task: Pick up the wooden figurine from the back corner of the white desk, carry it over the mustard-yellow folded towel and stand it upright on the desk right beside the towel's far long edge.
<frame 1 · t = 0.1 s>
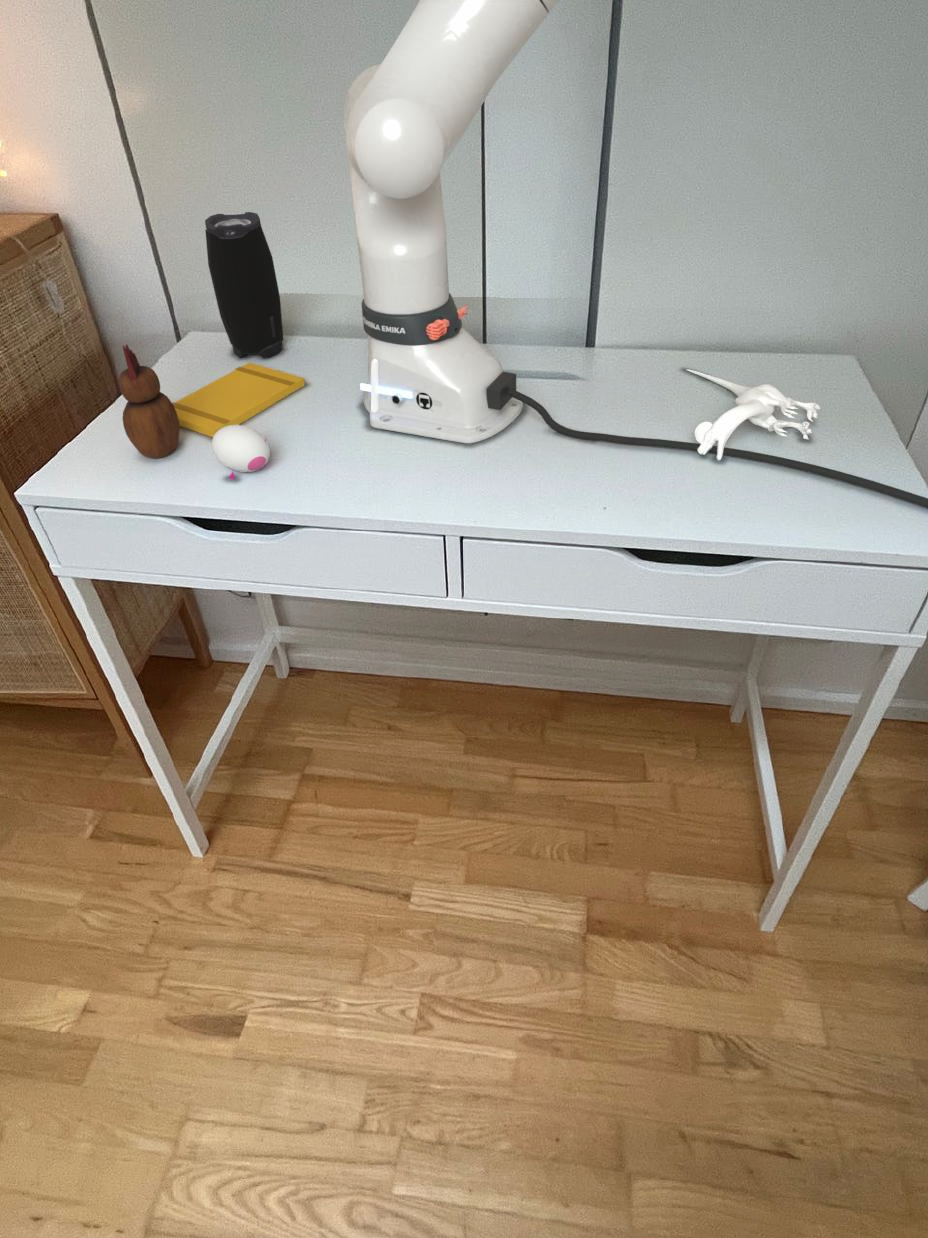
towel: (234, 401, 119), on the table
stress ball: (249, 467, 105), on the table
wooden figurine: (161, 452, 109), on the table
dinosaur: (721, 421, 109), on the table
portable speaker: (259, 350, 132), on the table
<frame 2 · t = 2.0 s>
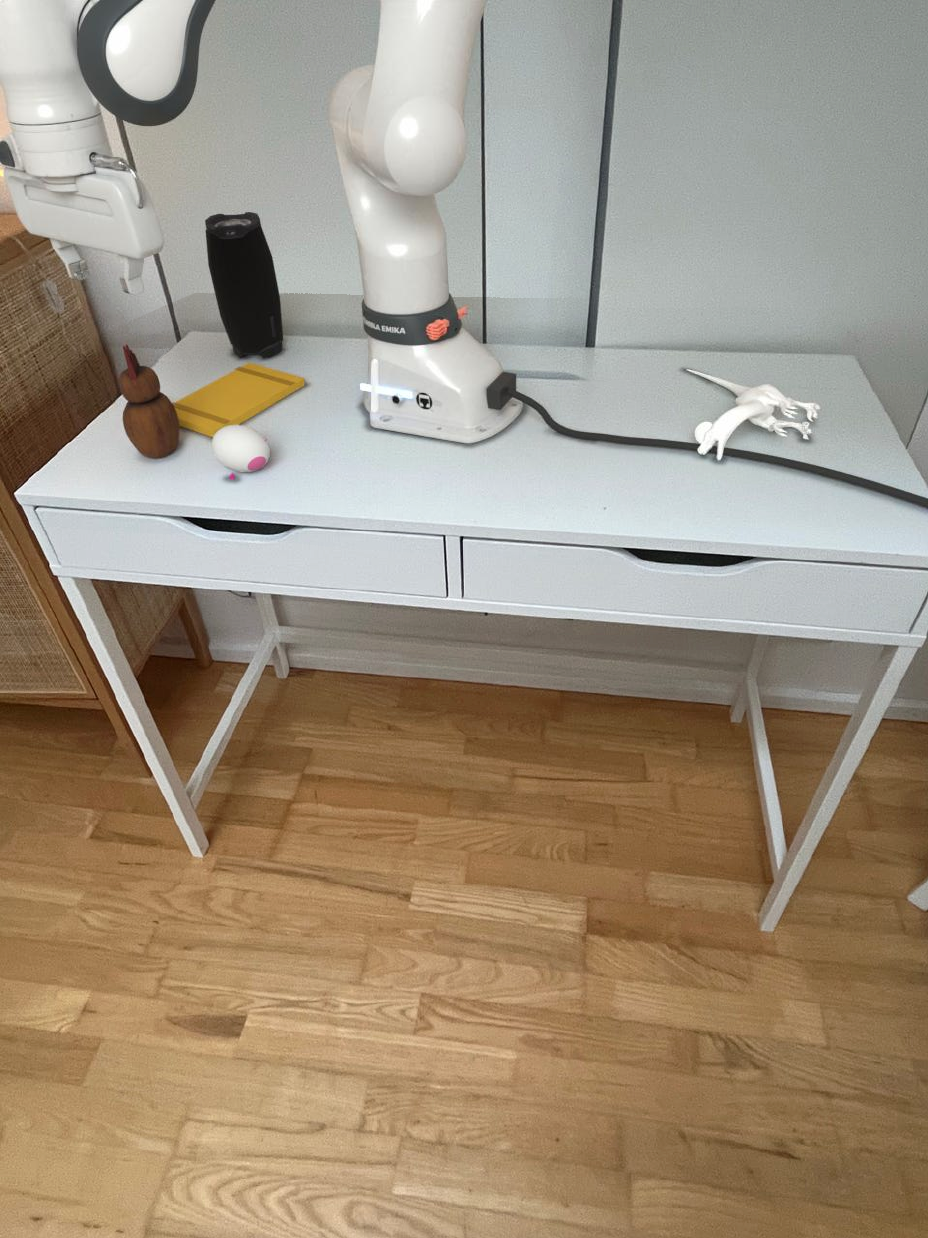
hand: (107, 285, 94), 21 cm above the table, tool pointing down, fingers open, 8 cm apart
nothing on the table moved.
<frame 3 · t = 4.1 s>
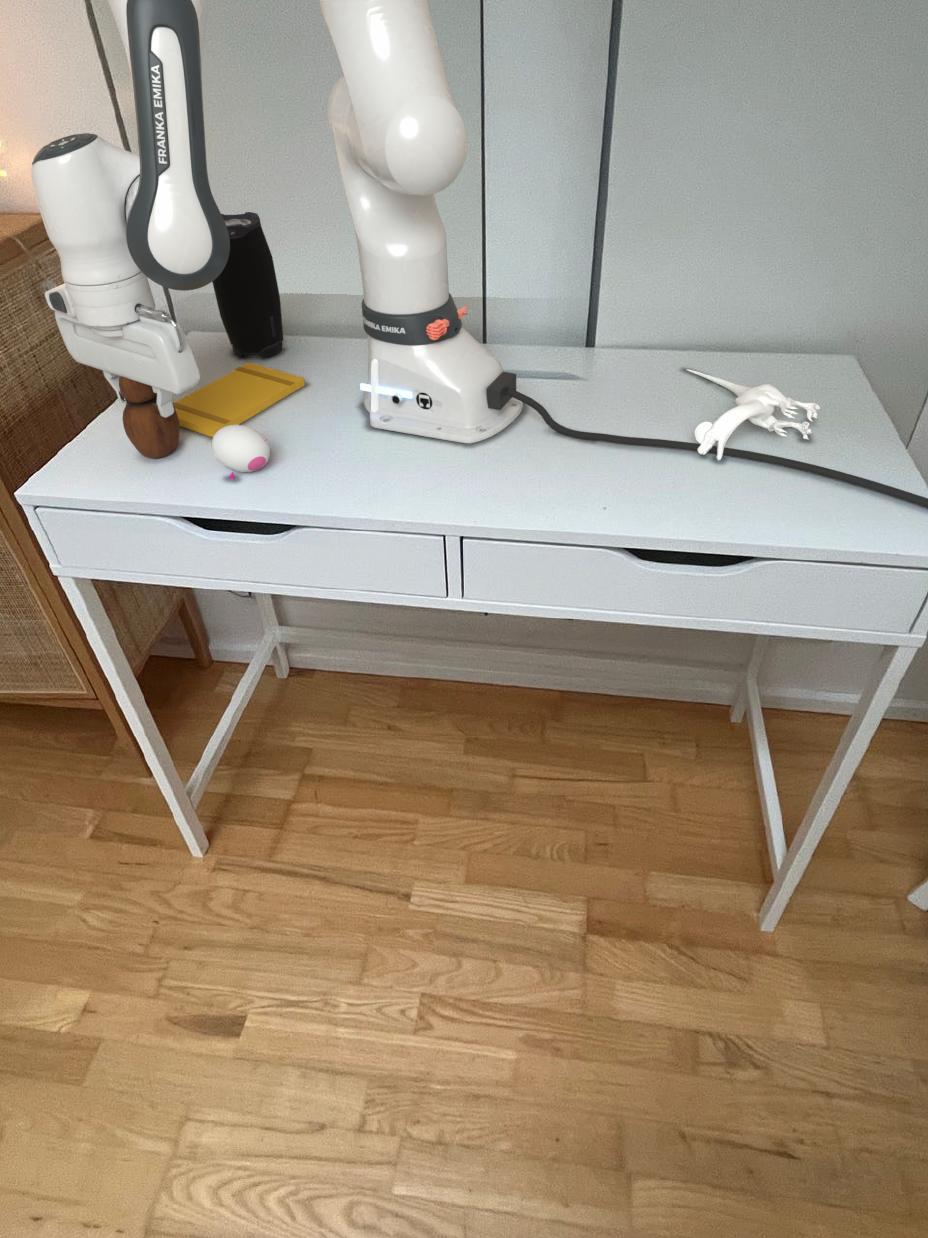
hand: (147, 408, 105), 6 cm above the table, tool pointing down, fingers closed on wooden figurine, 5 cm apart
wooden figurine: (161, 452, 109), on the table, touching gripper
everything else where it was.
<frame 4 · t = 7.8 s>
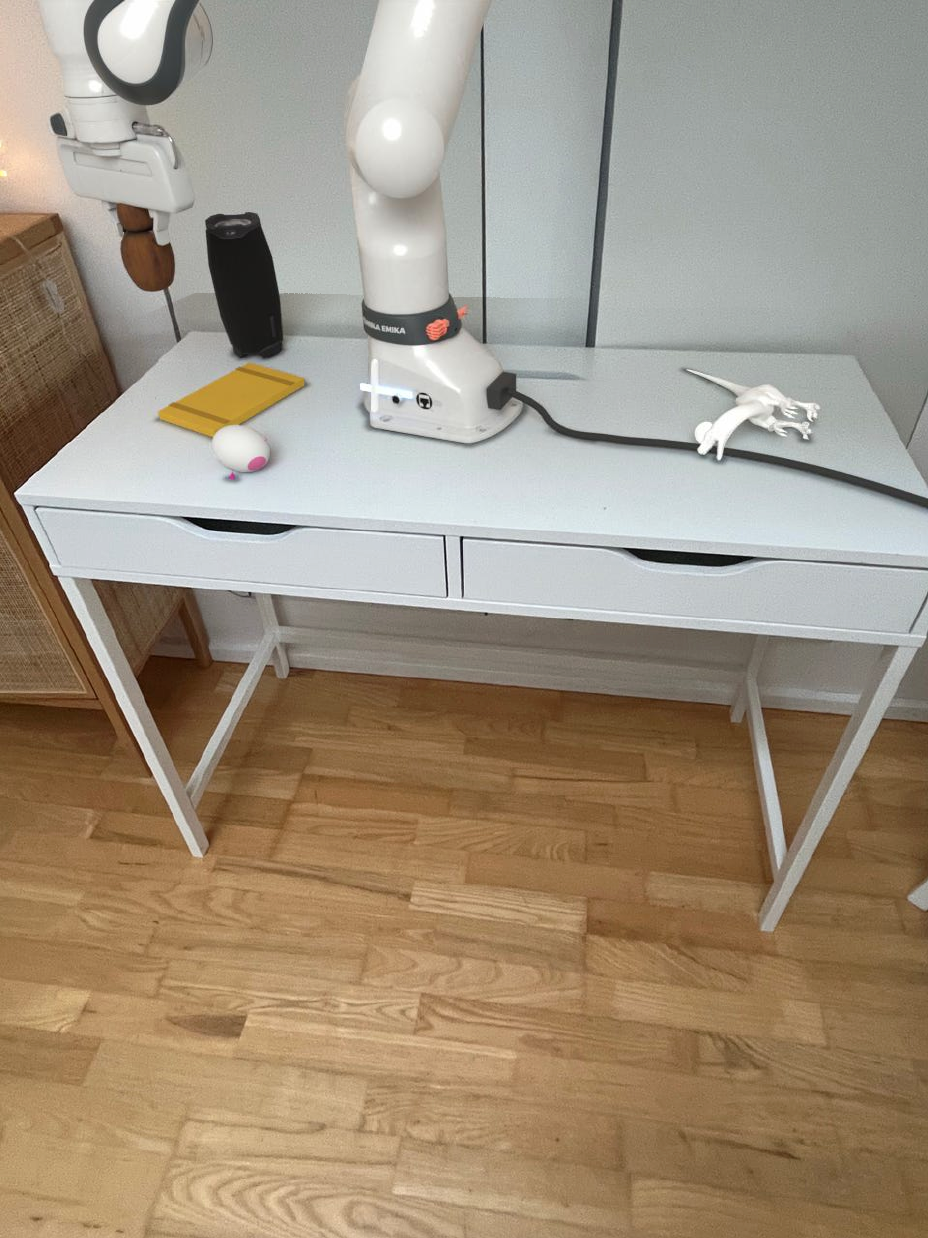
hand: (144, 239, 109), 21 cm above the table, tool pointing down, fingers closed on wooden figurine, 5 cm apart
wooden figurine: (157, 288, 113), point 14 cm above the table, touching gripper
everything else where it was.
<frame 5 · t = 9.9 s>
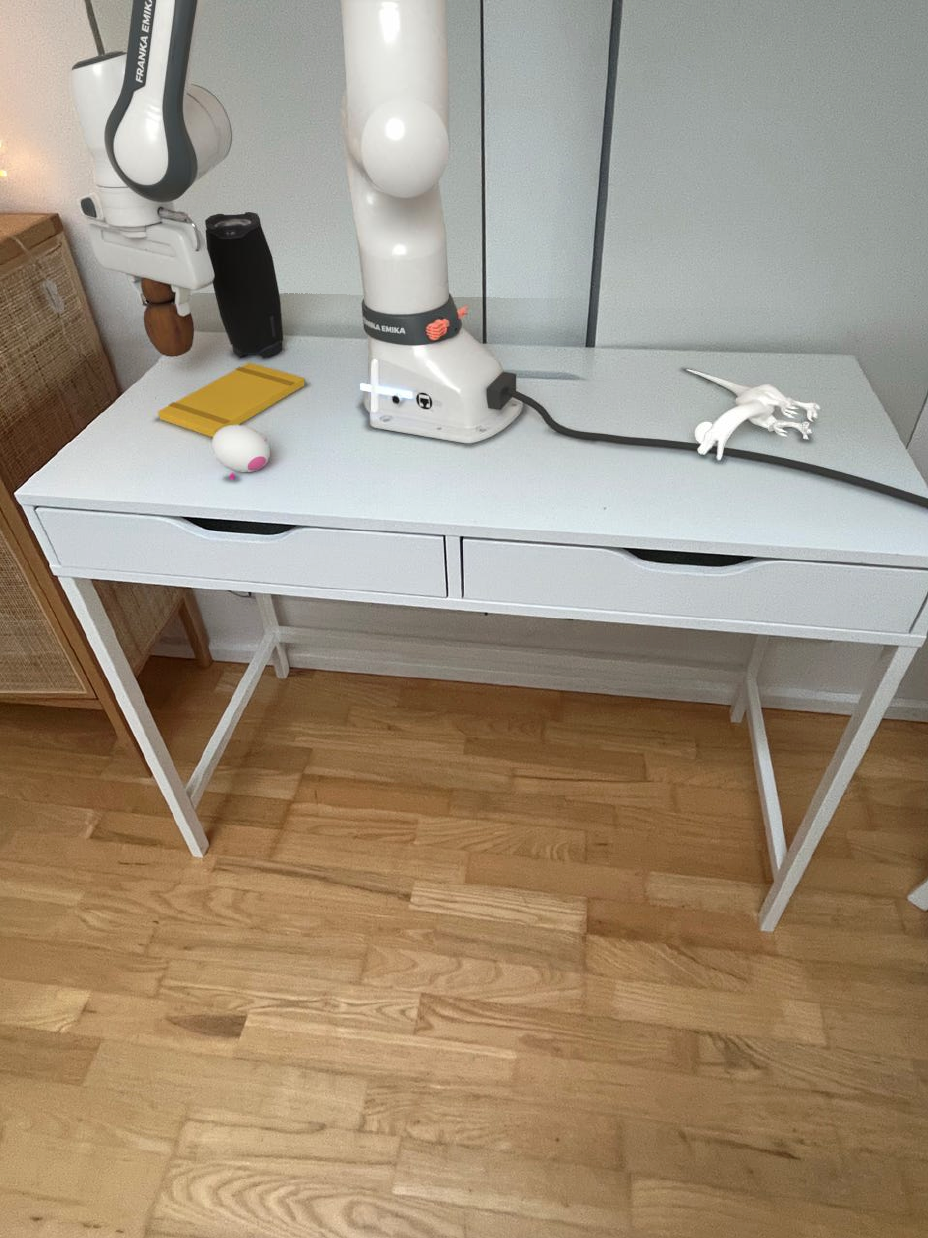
hand: (165, 309, 117), 11 cm above the table, tool pointing down, fingers closed on wooden figurine, 5 cm apart
wooden figurine: (177, 352, 121), point 5 cm above the table, touching gripper
everything else where it was.
when the fingers open (6 cm above the table, at t = 11.7 s): wooden figurine stays where it is, on the table.
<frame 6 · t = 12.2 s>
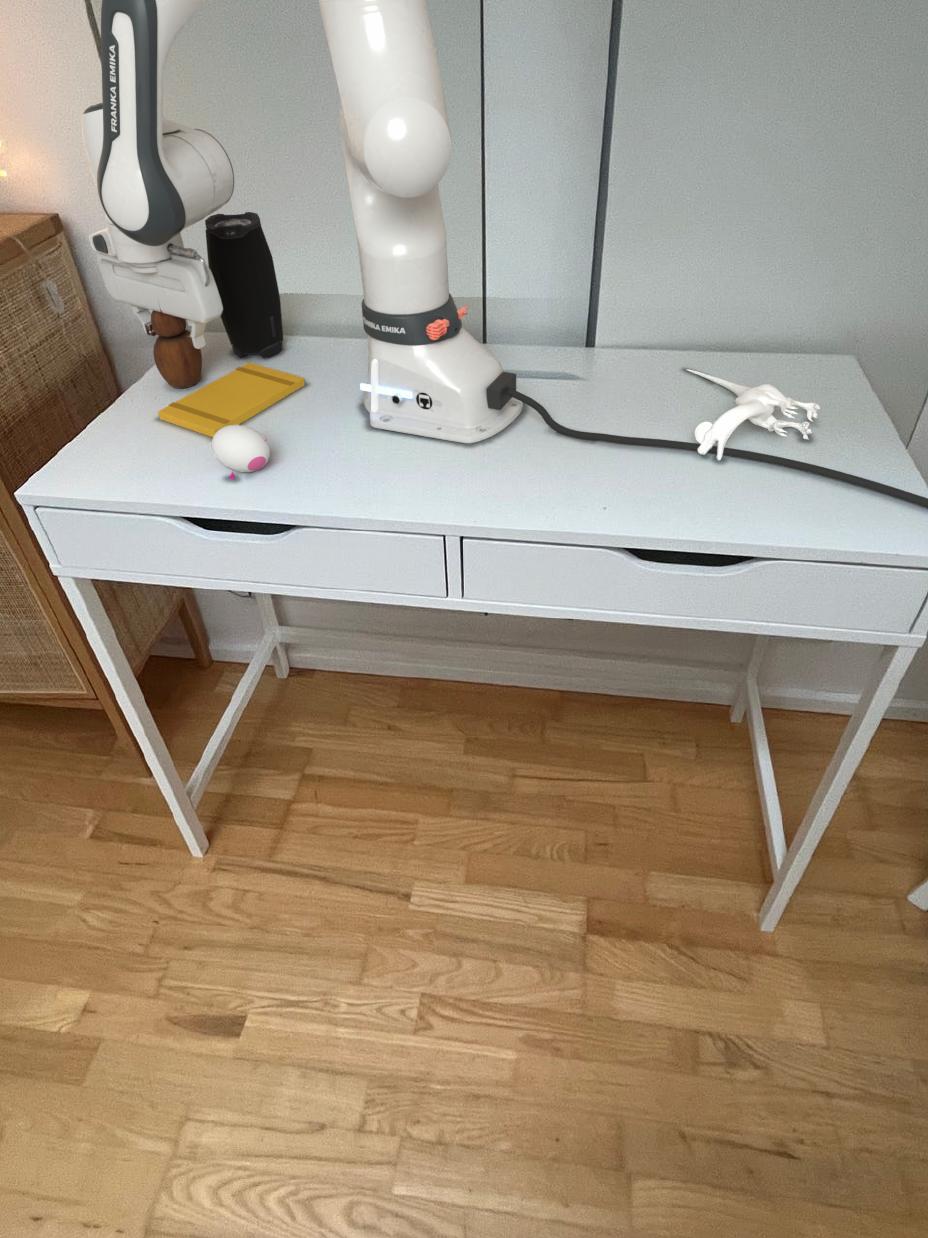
hand: (175, 340, 120), 6 cm above the table, tool pointing down, fingers open, 8 cm apart
wooden figurine: (186, 384, 124), on the table
everything else where it was.
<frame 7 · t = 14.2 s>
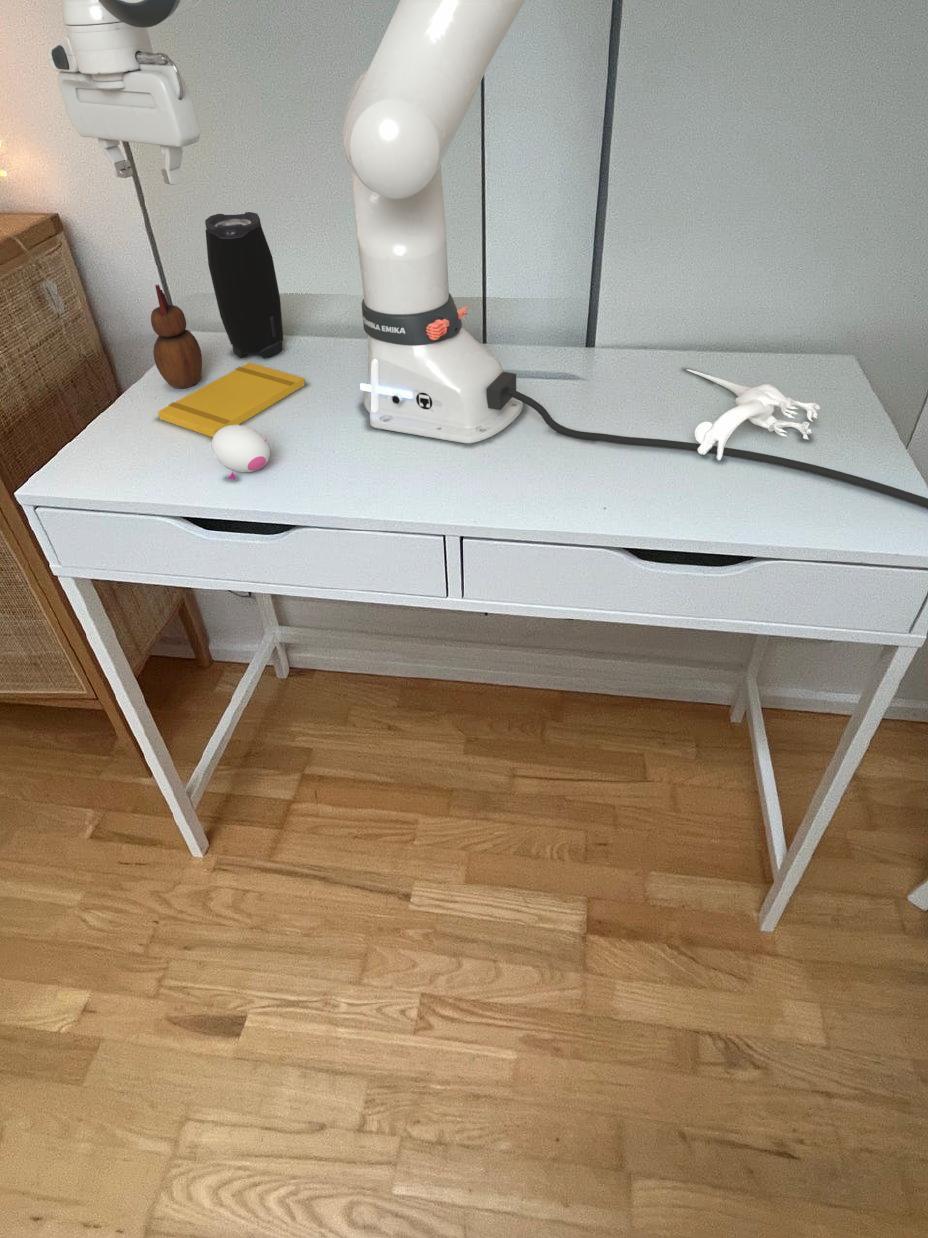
hand: (149, 180, 106), 27 cm above the table, tool pointing down, fingers open, 8 cm apart
nothing on the table moved.
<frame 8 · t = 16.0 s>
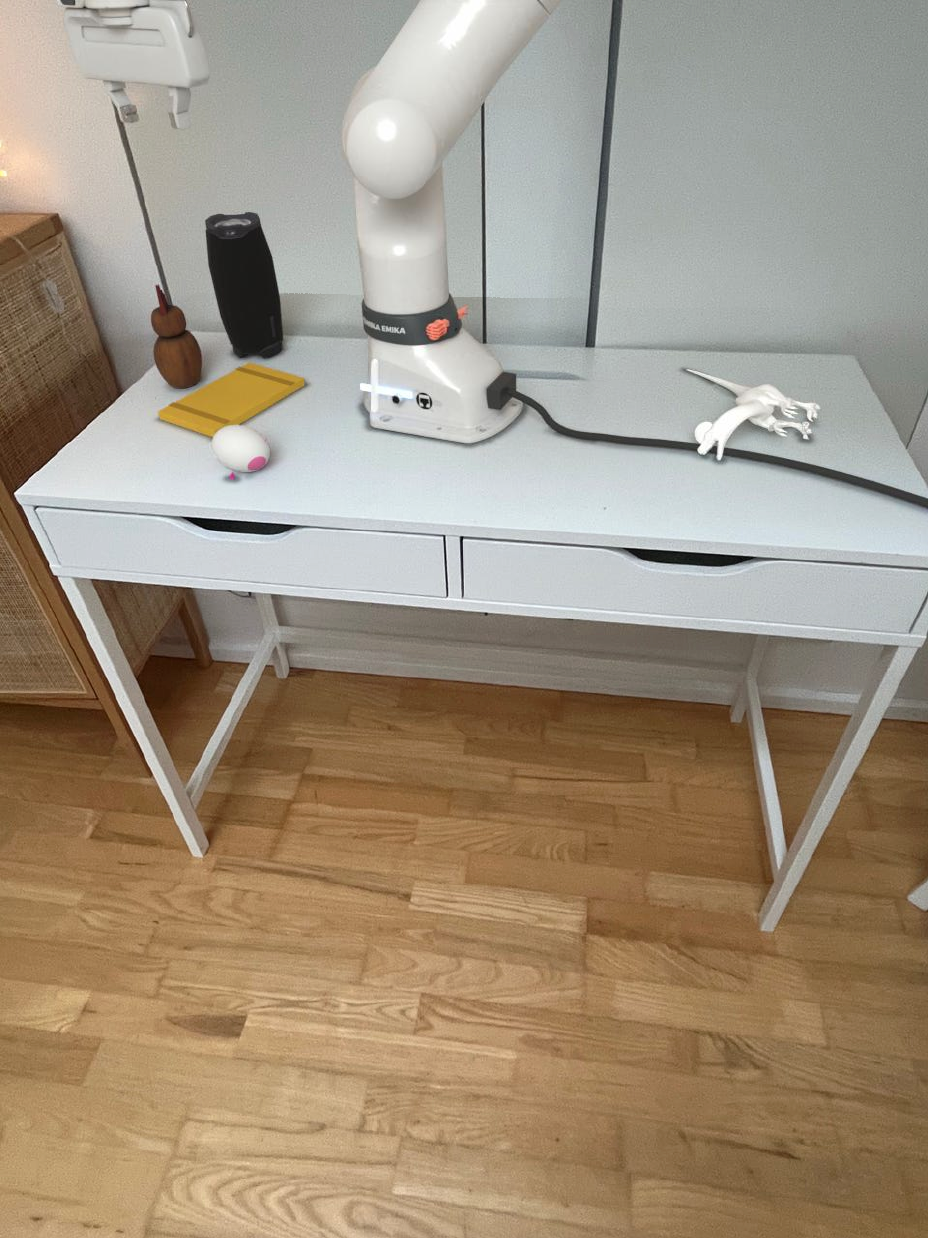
hand: (155, 125, 103), 33 cm above the table, tool pointing down, fingers open, 8 cm apart
nothing on the table moved.
at the end: wooden figurine inside the target area on the table beside the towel (0.5 cm from its centre), on the table; wooden figurine touching table; wooden figurine tilted 0° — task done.
